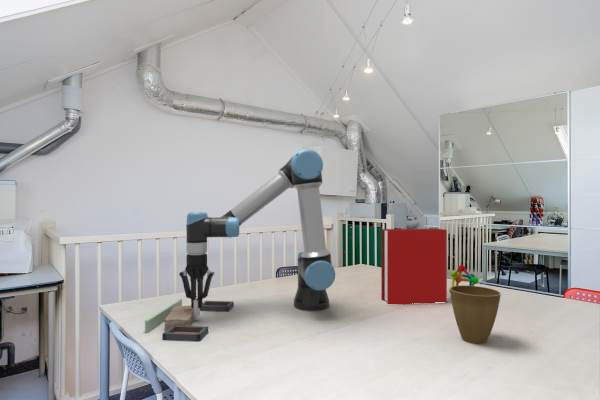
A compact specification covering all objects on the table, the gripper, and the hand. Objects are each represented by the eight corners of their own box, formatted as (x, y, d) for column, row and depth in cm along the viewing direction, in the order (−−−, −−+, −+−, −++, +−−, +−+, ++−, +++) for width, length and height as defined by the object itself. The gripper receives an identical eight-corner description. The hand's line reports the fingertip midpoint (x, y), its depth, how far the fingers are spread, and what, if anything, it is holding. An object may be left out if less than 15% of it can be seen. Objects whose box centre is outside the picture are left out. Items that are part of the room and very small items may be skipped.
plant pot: (498, 352, 112) (498, 298, 112) (445, 342, 120) (445, 291, 120) (502, 336, 124) (502, 288, 124) (454, 328, 132) (454, 282, 132)
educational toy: (483, 301, 171) (484, 269, 170) (454, 301, 172) (455, 269, 170) (469, 290, 187) (470, 260, 185) (443, 290, 187) (443, 260, 186)
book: (387, 304, 162) (387, 230, 162) (381, 300, 170) (381, 229, 170) (448, 303, 165) (448, 230, 165) (439, 298, 173) (439, 228, 173)
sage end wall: (181, 308, 156) (181, 299, 156) (148, 332, 128) (148, 320, 128) (179, 308, 156) (179, 299, 156) (145, 332, 128) (145, 320, 128)
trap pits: (233, 306, 160) (233, 301, 160) (199, 341, 120) (199, 334, 120) (205, 305, 161) (205, 300, 161) (162, 339, 122) (162, 333, 122)
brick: (188, 331, 130) (188, 317, 130) (163, 332, 129) (163, 318, 129) (196, 317, 147) (196, 305, 147) (174, 317, 146) (174, 305, 146)
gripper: (217, 252, 144) (217, 314, 144) (184, 251, 145) (184, 313, 145) (210, 255, 137) (210, 320, 137) (175, 254, 138) (175, 319, 138)
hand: (196, 316), depth 141 cm, fingers closed
